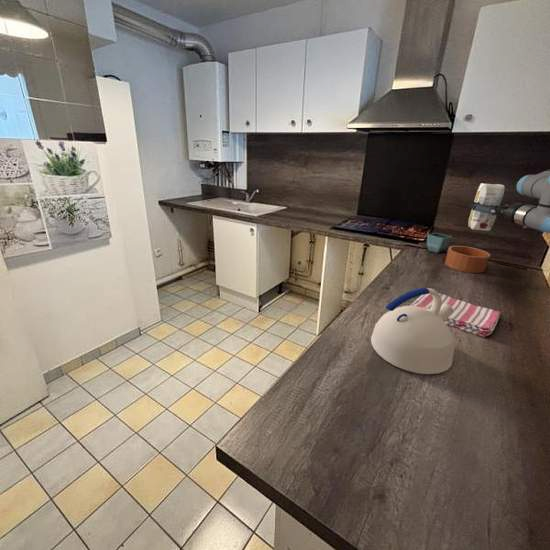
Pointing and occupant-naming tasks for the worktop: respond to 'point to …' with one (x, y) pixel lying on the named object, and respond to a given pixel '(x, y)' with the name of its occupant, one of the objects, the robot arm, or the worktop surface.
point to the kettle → (415, 335)
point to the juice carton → (486, 196)
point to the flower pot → (437, 242)
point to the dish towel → (464, 314)
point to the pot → (467, 259)
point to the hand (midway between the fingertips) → (478, 204)
